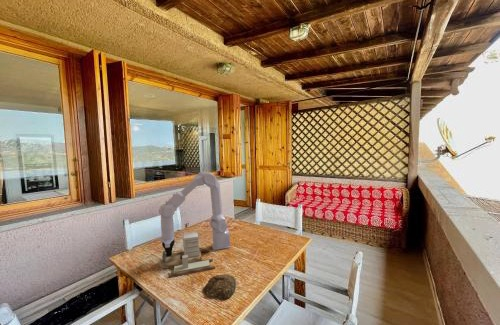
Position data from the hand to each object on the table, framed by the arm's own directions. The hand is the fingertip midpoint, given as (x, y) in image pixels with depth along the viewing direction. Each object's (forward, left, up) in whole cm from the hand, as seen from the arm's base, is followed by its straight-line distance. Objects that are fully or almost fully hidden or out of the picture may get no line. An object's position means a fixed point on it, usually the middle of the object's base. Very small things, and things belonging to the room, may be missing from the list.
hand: (169, 255), depth 107 cm
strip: (-10, +9, -4) cm, 14 cm away
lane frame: (-10, +4, -4) cm, 12 cm away
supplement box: (-11, 0, -4) cm, 11 cm away
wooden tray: (-6, 0, -4) cm, 7 cm away
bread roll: (-20, +29, -4) cm, 35 cm away
